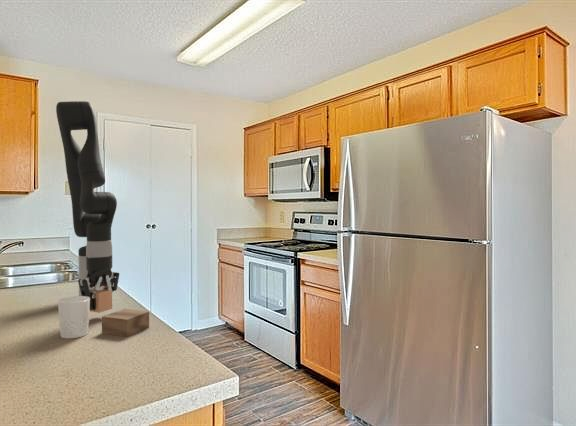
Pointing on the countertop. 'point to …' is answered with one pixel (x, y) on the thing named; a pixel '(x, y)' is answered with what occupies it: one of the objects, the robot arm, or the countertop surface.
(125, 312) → the walnut block
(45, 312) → the countertop surface
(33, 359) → the countertop surface
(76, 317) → the white cup
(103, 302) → the terracotta block
